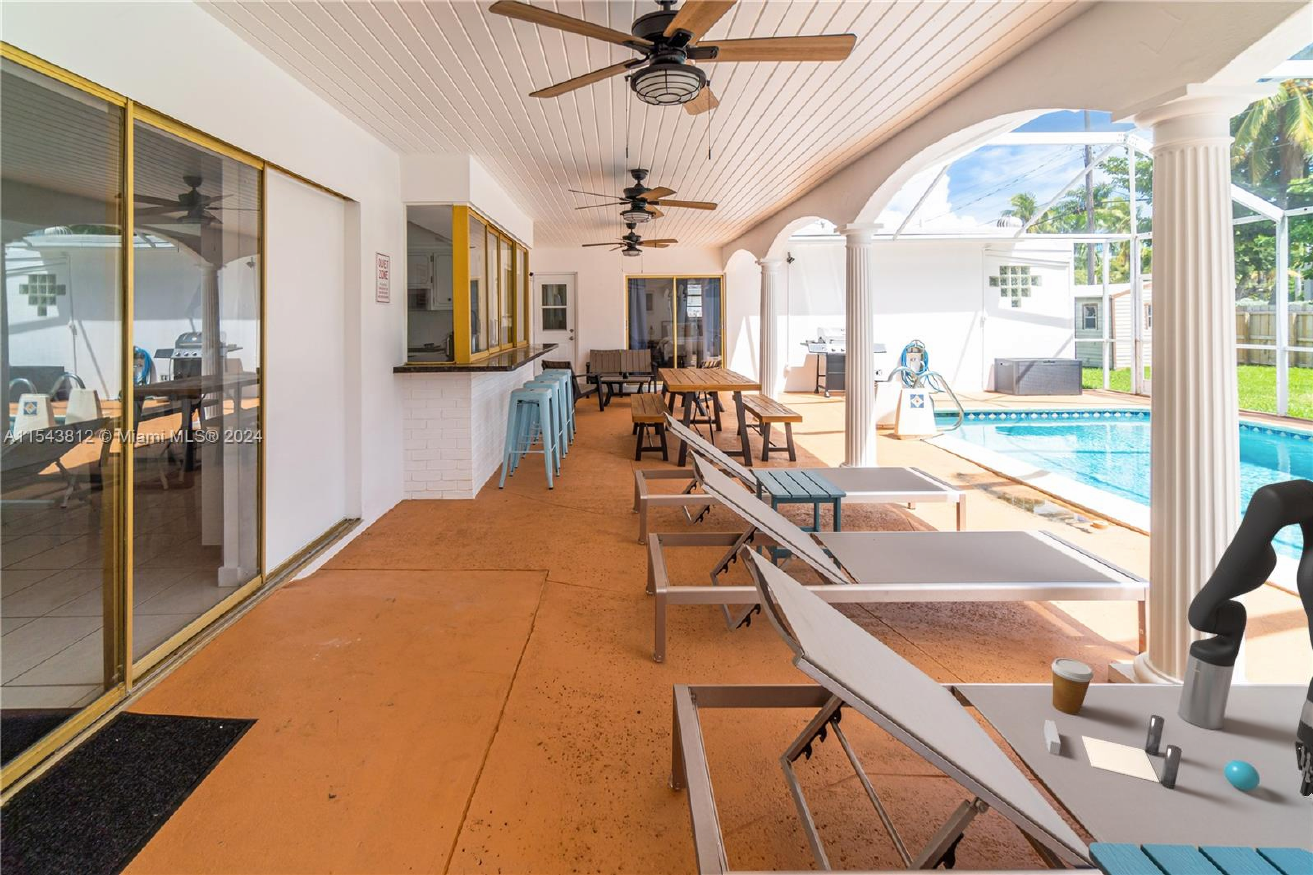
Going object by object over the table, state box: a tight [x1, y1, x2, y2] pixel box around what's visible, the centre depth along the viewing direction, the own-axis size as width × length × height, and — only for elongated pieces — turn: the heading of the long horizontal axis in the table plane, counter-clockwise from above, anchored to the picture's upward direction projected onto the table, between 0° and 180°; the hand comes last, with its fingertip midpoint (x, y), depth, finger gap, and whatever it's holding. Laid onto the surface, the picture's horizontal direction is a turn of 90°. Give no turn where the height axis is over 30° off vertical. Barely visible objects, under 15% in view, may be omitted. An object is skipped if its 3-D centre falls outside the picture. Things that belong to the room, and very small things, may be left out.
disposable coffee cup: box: [1051, 657, 1094, 715], centre depth 183 cm, size 10×10×12 cm
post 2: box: [1159, 744, 1183, 790], centre depth 153 cm, size 3×3×9 cm
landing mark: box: [1081, 735, 1160, 784], centre depth 163 cm, size 13×13×1 cm
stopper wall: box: [1043, 719, 1062, 756], centre depth 168 cm, size 10×2×3 cm, turn 157°
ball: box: [1223, 759, 1261, 791], centre depth 154 cm, size 6×6×6 cm
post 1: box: [1144, 714, 1165, 757], centre depth 165 cm, size 3×3×9 cm
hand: (1307, 796), depth 150 cm, fingers closed
